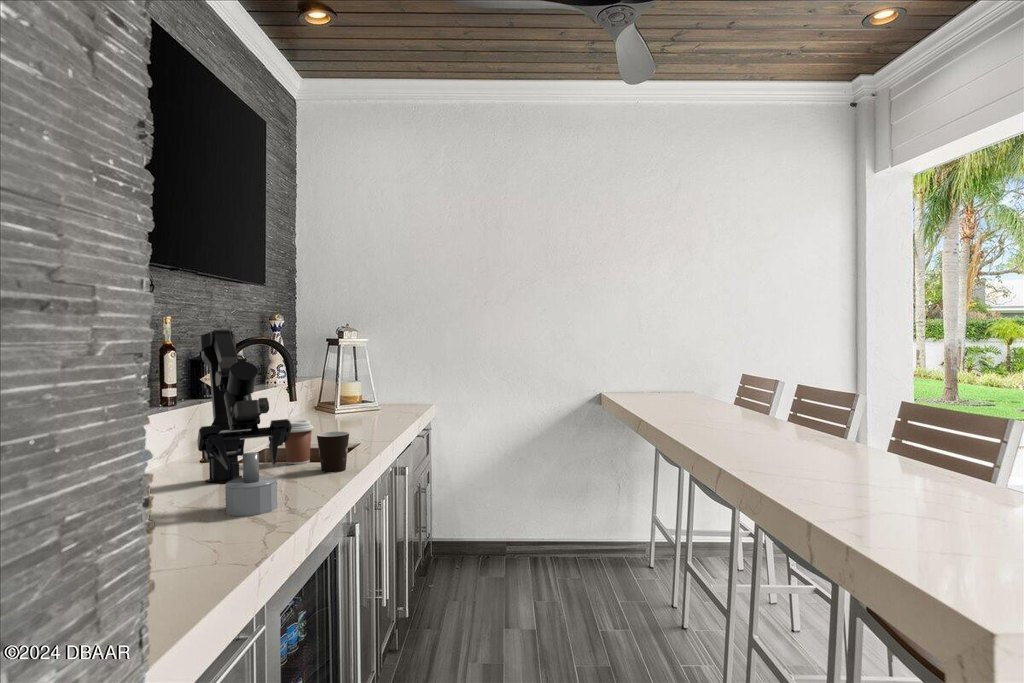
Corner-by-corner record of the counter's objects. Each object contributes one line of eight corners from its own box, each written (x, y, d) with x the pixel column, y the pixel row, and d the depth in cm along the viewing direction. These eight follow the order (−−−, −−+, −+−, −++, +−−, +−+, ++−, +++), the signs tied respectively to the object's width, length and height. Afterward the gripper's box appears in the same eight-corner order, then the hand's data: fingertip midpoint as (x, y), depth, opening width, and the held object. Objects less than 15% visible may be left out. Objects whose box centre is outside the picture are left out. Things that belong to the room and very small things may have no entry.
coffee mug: (340, 474, 167) (340, 436, 167) (311, 473, 169) (310, 436, 168) (359, 464, 178) (359, 430, 178) (332, 464, 180) (331, 429, 180)
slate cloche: (216, 511, 133) (215, 455, 132) (258, 500, 141) (257, 447, 141) (244, 518, 127) (242, 460, 127) (286, 506, 135) (285, 451, 135)
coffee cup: (315, 458, 189) (315, 419, 188) (312, 464, 180) (312, 423, 180) (284, 460, 187) (283, 420, 186) (279, 466, 178) (278, 424, 178)
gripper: (198, 388, 132) (207, 448, 123) (288, 383, 142) (303, 438, 133) (193, 421, 139) (202, 480, 130) (280, 414, 149) (293, 468, 140)
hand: (251, 466), depth 133 cm, fingers open, 9 cm apart
